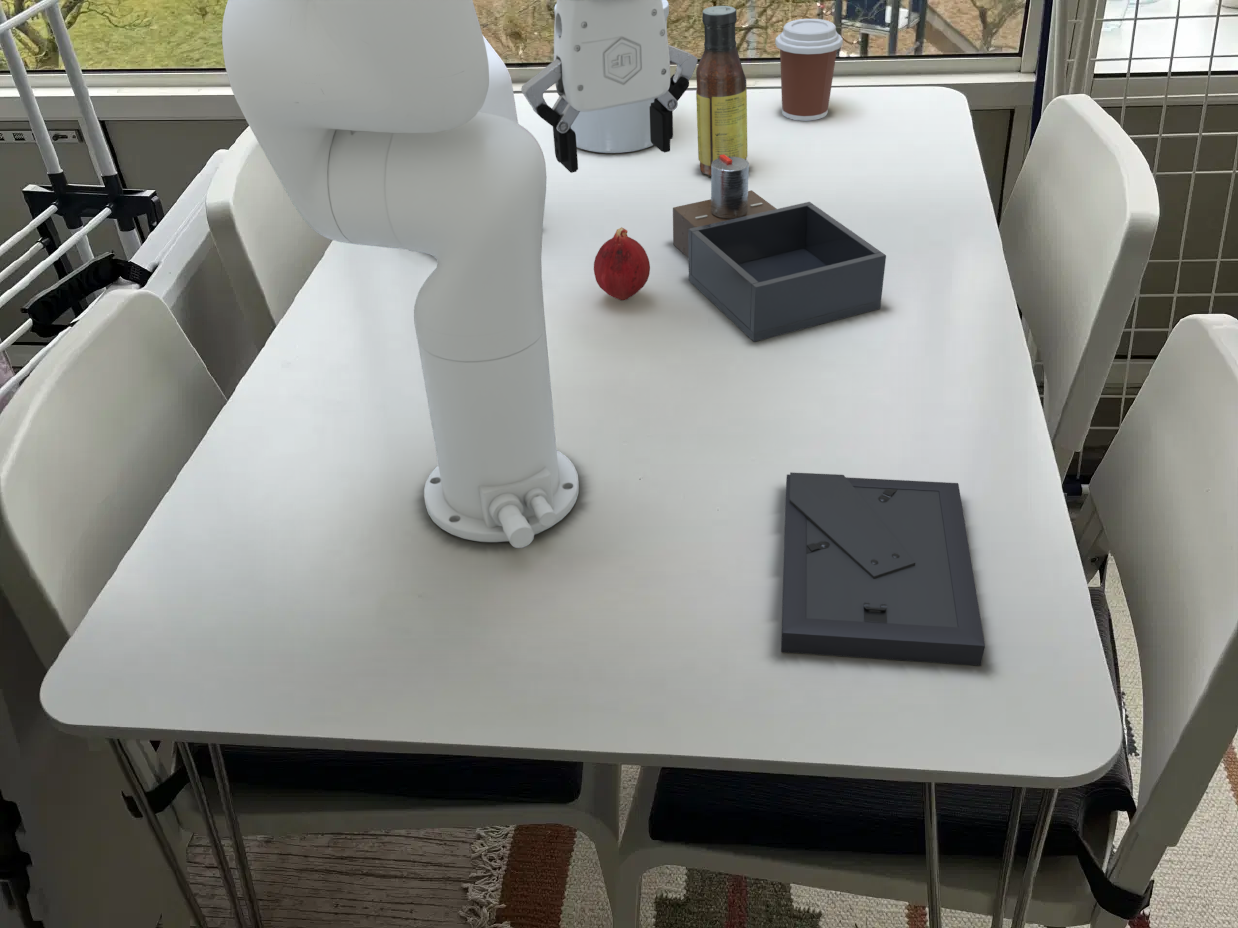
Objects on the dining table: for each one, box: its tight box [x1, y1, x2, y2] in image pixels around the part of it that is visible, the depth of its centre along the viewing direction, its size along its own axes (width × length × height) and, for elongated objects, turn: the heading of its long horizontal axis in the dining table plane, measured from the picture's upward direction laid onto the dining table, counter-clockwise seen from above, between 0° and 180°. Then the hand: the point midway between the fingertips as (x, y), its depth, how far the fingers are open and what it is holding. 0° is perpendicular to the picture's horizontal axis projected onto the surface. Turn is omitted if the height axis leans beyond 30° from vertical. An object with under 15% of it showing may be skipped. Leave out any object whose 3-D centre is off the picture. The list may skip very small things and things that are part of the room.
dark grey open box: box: [688, 201, 887, 343], centre depth 117 cm, size 15×15×6 cm
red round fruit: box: [593, 226, 651, 302], centre depth 117 cm, size 6×6×8 cm
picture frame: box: [780, 472, 986, 667], centre depth 83 cm, size 13×2×18 cm
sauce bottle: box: [695, 5, 748, 177], centre depth 140 cm, size 6×6×20 cm
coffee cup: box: [774, 18, 844, 122], centre depth 158 cm, size 9×9×12 cm
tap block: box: [672, 190, 777, 259], centre depth 126 cm, size 8×10×5 cm
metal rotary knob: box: [710, 154, 750, 219], centre depth 123 cm, size 4×4×6 cm
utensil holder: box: [553, 0, 670, 154], centre depth 152 cm, size 15×15×18 cm
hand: (615, 157), depth 110 cm, fingers open, 9 cm apart
